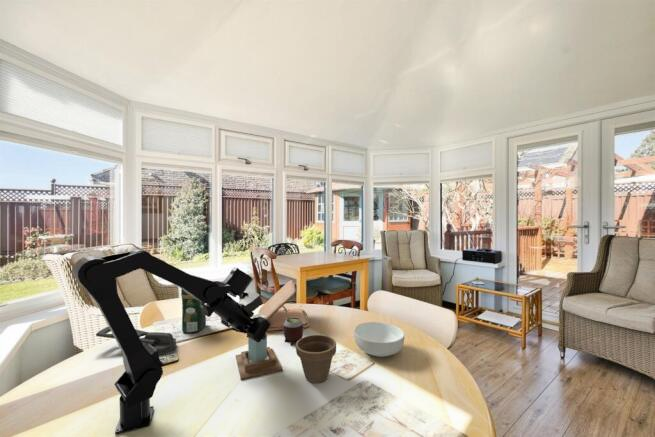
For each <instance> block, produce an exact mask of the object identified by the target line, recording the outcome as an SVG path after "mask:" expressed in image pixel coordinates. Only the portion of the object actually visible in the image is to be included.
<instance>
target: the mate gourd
mask: <svg viewBox="0 0 655 437" xmlns="http://www.w3.org/2000/svg"><path fill="white" fill-rule="evenodd" d="M280 306H282V305H281V304H280ZM281 308H283V310H285V312H286V315H287V318H288V319H287V320H286V321H285V323H284V326H283V330H282V331H283V337H284V342H285V343H290V347H292V346H294V344H295V343H297V341H298V340H300V339H301V338H303V336H304V335H303V334H304V333H303V332H304V328H303V324H302V321H301V320H300V319H299V318H294V317H293V318H289V316H288V313H287V310H288V309H287V308H286V307H285V305H283V306H282V307H281Z"/></svg>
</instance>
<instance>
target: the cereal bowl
mask: <svg viewBox="0 0 655 437" xmlns="http://www.w3.org/2000/svg"><path fill="white" fill-rule="evenodd" d="M353 337H354V342H355V344H356V346H357V347H358V348H359V349H360V350H361V351H363V352H364V353H366V354H369V355H370V356H373V357H378V358H384V357H388V356H393V355H395V354H397V353H399V352H400V351H401V349H402V348H403V345H404V342H405V331H404V330H403V329H402V328H400V327H398V326H397V325H394V324H391V323H388V322H382V321H378V322H377V321H368V322H362V323H359V324H358V325H356V326H355V327H354V329H353Z"/></svg>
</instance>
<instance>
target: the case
mask: <svg viewBox="0 0 655 437" xmlns="http://www.w3.org/2000/svg"><path fill="white" fill-rule="evenodd" d="M296 287H297V286H296V284H295V283H294V281H293V280H292V279H290V280H288V281H287V282H286V283H285V284H284V285H282V287H281V288H280V289H278V291H276V292H275V294H273V295H272V297H270V298H269V300H267V301H266V302H265V303H263V304H262V305H261V307H260V308H259V310H258V314H262V315H264V316H267V320H268V321H270V322H271V325H270V327H269V328H268V330H267V332H276V331H284V330H283V326H284V323H285V321H286V320H287V319H288V318H287V315H286V312H285V310H284V309H281V308H283V307H282V306H285V304H287V303H288V302H289V301H290V300H291V299H292V298H293V296H295V294H296V292H297V289H296ZM280 304H281V305H282V306H280ZM287 313H288V316H289V318H293V317H294V318H299V319H300V320H301V321H302V324H303V329H307V328H309V327H310V322H309V318H308V315H307V314H306V311H305V310H303V309H301V308H300V309H297V308H295V309H287Z"/></svg>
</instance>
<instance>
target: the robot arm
mask: <svg viewBox="0 0 655 437" xmlns="http://www.w3.org/2000/svg"><path fill="white" fill-rule="evenodd" d="M137 270H143V271H145V272H147V273H149V274H151V275H154V276H156V277H158V278H160V279H162V280H164V281H166V282H168V283H171V284H173V285H175V286H177V287H179V288H180V289H182V290H184V291H185V292H186V293H187V294H189V295H190V296H191V297H193V298H194V299H197V300H199V301H201V302H203V303H205V305H203V311H202V314H204V315H206V317H207V318H208V317H211V316H212V315H213V313H214V314H215V315H216V316H218V317H220V321H221V324H222V325H223V326H225V327H227V328H230V327H231V329H232V330H233V331H235V332H237V333H241V334H246V337H247V338H250V339H252V340H254V341H256V342H260V341H261V339H263V340H265V338H266V334H265V333H266V332H267V333H268V331H267V330H268V328H269V327H270V325H271V322H270V321H268V320H267V319H265V318H263V317H257V318H256V317H255V318H253V319H252V318H250V317H252V316H253V315H255V313H254V311H256V310H257V309H258V308H259V307H260V306H261V307H262V306H263V305H264V302H263V299H262V297H261V294H260V293H257V292H254V291H249V292H246V290H247V289H248V287H249V286H250V284H251V283H252V282H253V278H252V276H251V275H249V274H247V273H246V272H244V271H242V270H241V269H239V267H233V268H232V269H231V270H230V272H229V274H228V275H227V276H226V277H225V279H224V280H223V281H218V280H210V279H207V278H204V277H200V276H196V275H193V274H190V273H188V272H186V271H183V270H182V269H179V268H178V267H176V266H174V265H172V264H170V263H168V262H166V261H165V260H162V259H160V258H158V257H156V256H154V255H152V254H151V253H150V252H148V251H146V250H144V249H140V248H139V249H138V248H137V249H132V250H129V251H126V252H119V253H114V254H109V255H104V256H101V257H100V256H96V255H88V256H83V257H82V258H80V259H78V260H77V261H76V262H75V263H74V265H73V267H72V270H71V271H72V275H73V277H74V278H75V280H76V281H77V282H78V283H79V284H80V285H81V286H82V288H83V289H84V290H85V291H86V292H87V293H88V294H89V296H90V297H91V298H92V299H93V300H94V301H95V303H96V305H97V307H98V309H99V311H100V312H101V315H102V317H103V318H104V320H105V322H106V324H107V327H109V328H110V330H111V331H110V332H111V334H113V335H114V337H115V338H114V339H115V341H116V343H117V345H118V347H119V348H120V350H121V352H122V362H123V367H124V370H125V371H124V372H123V373H122V375H121V376H120V377H119V378H118V379H117V381H115V383H114V387H115V388H116V390H117V392H118V393H119V394H120V396H119V420H118V422H117V425H116V427H115V430H114V433H115V435H117V434H122V433H126V432H130V431H134V430H137V429H142V428H145V427H149V426H150V424H151V422H152V417H153V413H154V409H155V407H154V406H153V405H151V401H150V400H151V398H153V396H154V393H155V390H156V387H157V386H158V385H157V384H158V383H159V382H160V380H161V378H162V376H163V374H164V370H163V367H164V366H165V363H164V362H162V361H161V358H160V356H159V354H158V351H157V350H156V349H154V348H153V347H152V346H151V345H150V344H149V343H148V344H147V345H146V346H143V344H142V342H141V340H140V338H141V337H140V338H139V336H138V334H137V332H136V330H137V329H136V328H135V326H134V325H133V322H132V320H131V318H130V316H129V314H128V312H127V309H126V308H125V306H124V304H123V302H122V300H121V298H120V296H119V292H118V282H117V278H119V277H123V276H125V275H127V274H130V273H132V272H134V271H137ZM237 296H238V298H239V302H237V301H236V300H235V298H237ZM232 297H233V298H232ZM248 326H249V327H248ZM135 329H136V330H135Z"/></svg>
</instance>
